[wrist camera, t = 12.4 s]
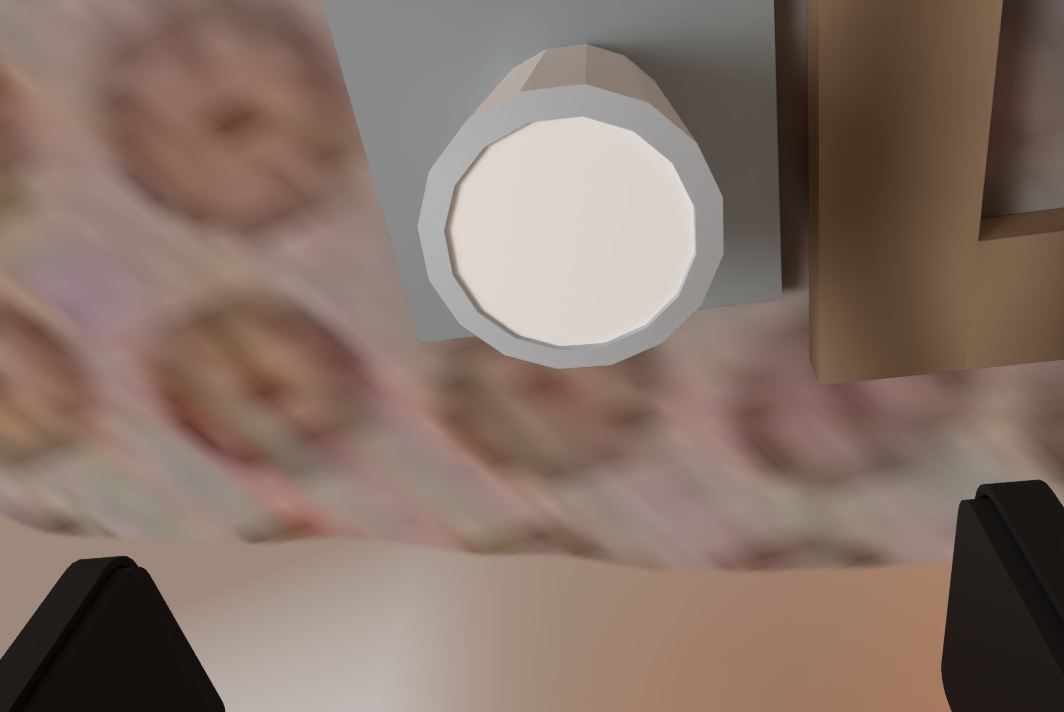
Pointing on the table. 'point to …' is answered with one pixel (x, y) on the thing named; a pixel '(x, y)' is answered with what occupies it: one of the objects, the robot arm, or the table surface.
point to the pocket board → (917, 200)
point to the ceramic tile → (524, 31)
